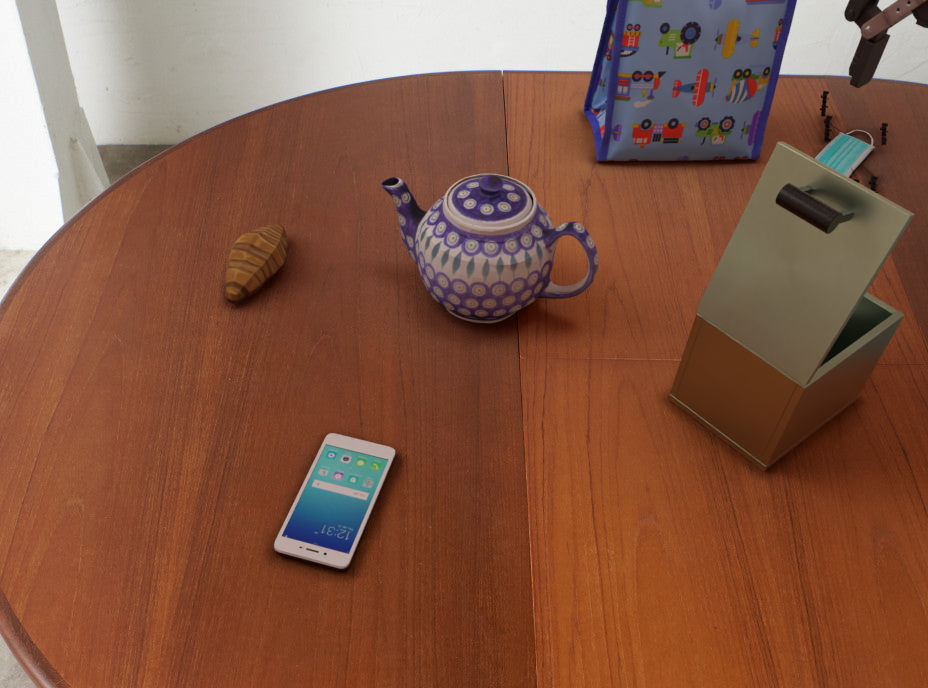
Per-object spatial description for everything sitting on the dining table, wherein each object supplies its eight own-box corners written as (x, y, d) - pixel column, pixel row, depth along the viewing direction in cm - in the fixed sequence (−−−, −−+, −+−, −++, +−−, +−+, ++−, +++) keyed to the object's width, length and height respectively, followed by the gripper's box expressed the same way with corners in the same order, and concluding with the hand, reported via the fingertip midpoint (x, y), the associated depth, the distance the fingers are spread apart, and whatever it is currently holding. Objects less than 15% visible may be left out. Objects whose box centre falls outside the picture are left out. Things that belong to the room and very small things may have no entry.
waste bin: (761, 335, 105) (797, 248, 95) (856, 400, 99) (905, 314, 90) (667, 399, 99) (696, 313, 89) (763, 471, 93) (805, 388, 84)
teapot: (607, 288, 109) (633, 174, 97) (558, 371, 101) (580, 258, 89) (414, 224, 116) (416, 110, 104) (353, 298, 107) (348, 183, 95)
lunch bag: (733, 108, 133) (804, -125, 109) (758, 164, 124) (841, -74, 101) (580, 110, 132) (619, -124, 108) (596, 167, 123) (642, -74, 100)
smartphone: (398, 448, 93) (347, 569, 84) (398, 453, 94) (348, 574, 85) (327, 430, 94) (270, 548, 85) (328, 436, 95) (271, 553, 86)
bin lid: (782, 140, 78) (751, 146, 75) (915, 214, 72) (887, 223, 70) (699, 308, 89) (670, 319, 86) (809, 383, 83) (781, 397, 81)
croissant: (261, 315, 105) (255, 280, 101) (206, 301, 107) (199, 266, 103) (308, 243, 113) (305, 208, 109) (256, 231, 114) (251, 196, 110)
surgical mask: (820, 85, 129) (897, 97, 127) (810, 115, 132) (884, 127, 130) (813, 168, 117) (896, 183, 115) (801, 199, 120) (882, 213, 118)
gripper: (1149, -108, 59) (1013, 130, 72) (948, -175, 66) (856, 54, 79) (1090, -77, 56) (960, 165, 69) (886, -150, 63) (802, 84, 76)
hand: (905, 106), depth 74 cm, fingers open, 8 cm apart
